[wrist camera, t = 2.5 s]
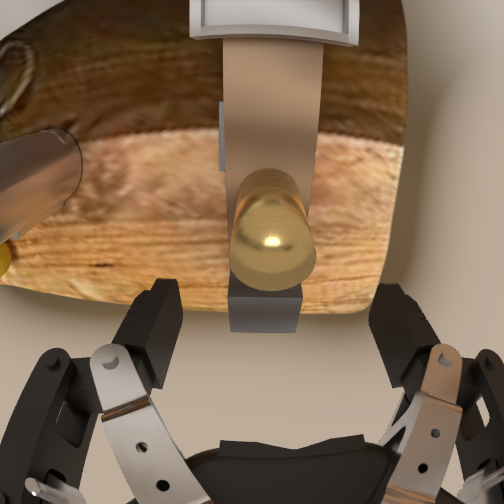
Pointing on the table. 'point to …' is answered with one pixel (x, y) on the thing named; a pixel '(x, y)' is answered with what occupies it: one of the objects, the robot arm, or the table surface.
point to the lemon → (4, 258)
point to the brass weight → (271, 233)
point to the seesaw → (271, 112)
